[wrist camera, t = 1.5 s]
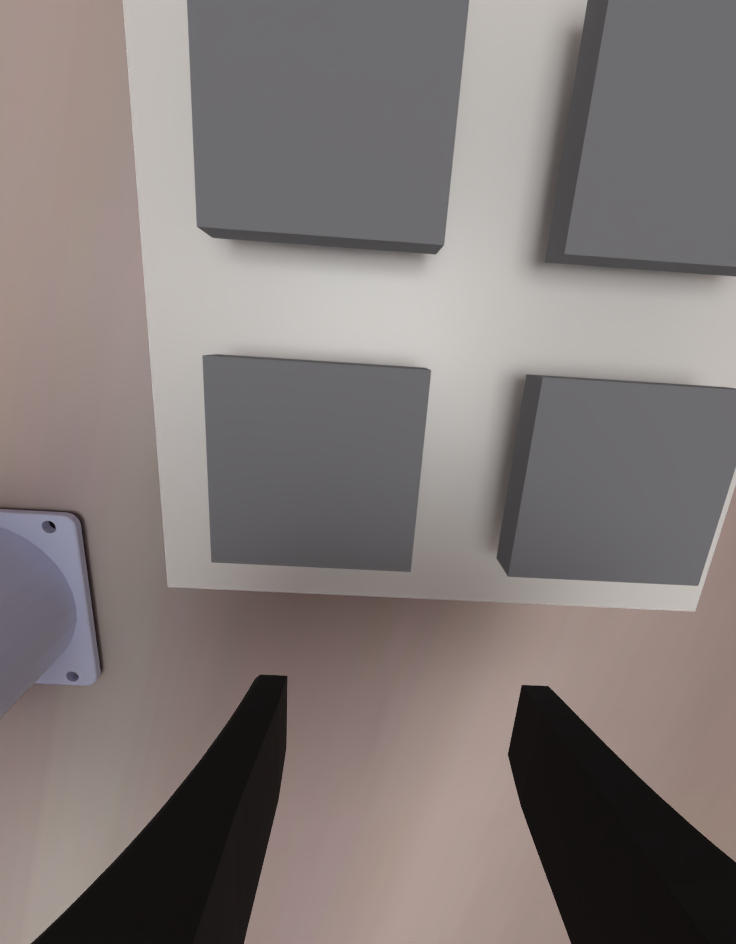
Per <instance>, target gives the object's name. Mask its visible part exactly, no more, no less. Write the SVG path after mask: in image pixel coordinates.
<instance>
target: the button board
mask: <svg viewBox="0 0 736 944" xmlns="http://www.w3.org/2000/svg"><path fill="white" fill-rule="evenodd" d="M587 1H588V0H469V8H468V17H467V27H466V37H465V47H464V56H463V66H462V76H461V86H460V95H459V105H458V115H457V125H456V134H455V144H454V154H453V164H452V173H451V183H450V193H449V203H448V212H447V222H446V232H445V242H444V246H443V247H442V248H441V249H440V250H439V252H438V253H437V254H423V253H410V252H396V251H382V250H369V249H355V248H342V247H328V246H315V245H301V244H287V243H274V242H260V241H247V240H233V239H220V238H212V237H211V236H209V235H208V234H206V233H205V232H204V231H202V230H201V229H199V228H198V227H197V220H196V197H195V174H194V151H193V128H192V105H191V82H190V58H189V35H188V12H187V0H123V10H124V24H125V37H126V50H127V63H128V76H129V89H130V102H131V115H132V128H133V141H134V154H135V167H136V180H137V194H138V207H139V220H140V233H141V246H142V259H143V272H144V285H145V298H146V311H147V324H148V337H149V351H150V364H151V377H152V390H153V403H154V416H155V429H156V442H157V455H158V468H159V481H160V494H161V508H162V521H163V534H164V547H165V560H166V573H167V586H168V587H177V588H198V589H220V590H242V591H263V592H285V593H307V594H328V595H350V596H371V597H393V598H415V599H436V600H458V601H480V602H501V603H523V604H544V605H566V606H588V607H609V608H631V609H653V610H674V611H695V610H696V607H697V604H698V601H699V598H700V594H701V591H702V588H703V585H704V582H705V579H706V576H707V573H708V569H709V566H710V563H711V560H712V557H713V554H714V551H715V548H716V544H717V541H718V538H719V535H720V532H721V529H722V526H723V523H724V519H725V516H726V513H727V510H728V507H729V504H730V501H731V498H732V495H733V491H734V488H735V485H736V468H735V471H734V475H733V478H732V481H731V484H730V487H729V490H728V494H727V497H726V500H725V503H724V506H723V509H722V512H721V516H720V519H719V522H718V525H717V528H716V531H715V535H714V538H713V541H712V544H711V547H710V550H709V554H708V557H707V560H706V563H705V566H704V569H703V573H702V576H701V579H700V582H699V585H698V586H689V585H668V584H648V583H627V582H606V581H586V580H565V579H544V578H524V577H508V576H507V574H506V573H505V571H504V570H503V568H502V566H501V565H500V563H499V562H498V560H497V558H496V557H497V551H498V545H499V539H500V532H501V526H502V520H503V514H504V508H505V502H506V496H507V490H508V484H509V477H510V471H511V465H512V459H513V453H514V447H515V441H516V435H517V429H518V422H519V416H520V410H521V404H522V398H523V392H524V386H525V380H526V374H532V375H547V376H562V377H578V378H593V379H609V380H624V381H640V382H655V383H671V384H686V385H702V386H717V387H729V388H736V277H735V276H722V275H708V274H694V273H681V272H667V271H654V270H640V269H627V268H613V267H599V266H586V265H572V264H559V263H545V257H546V251H547V245H548V239H549V233H550V227H551V221H552V215H553V208H554V202H555V196H556V190H557V184H558V178H559V172H560V166H561V160H562V153H563V147H564V141H565V135H566V129H567V123H568V117H569V111H570V105H571V98H572V92H573V86H574V80H575V74H576V68H577V62H578V56H579V50H580V43H581V37H582V31H583V25H584V19H585V13H586V7H587ZM213 354H222V355H238V356H253V357H269V358H284V359H300V360H315V361H330V362H346V363H361V364H377V365H392V366H408V367H423V368H427V369H430V370H431V378H430V388H429V398H428V408H427V417H426V427H425V437H424V447H423V456H422V466H421V476H420V486H419V495H418V505H417V515H416V525H415V534H414V544H413V554H412V564H411V572H399V571H379V570H358V569H337V568H317V567H296V566H275V565H255V564H234V563H213V562H211V544H210V521H209V498H208V475H207V451H206V428H205V405H204V382H203V359H202V355H213Z"/></svg>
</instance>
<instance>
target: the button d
mask: <svg viewBox="0 0 736 944" xmlns="http://www.w3.org/2000/svg"><path fill="white" fill-rule="evenodd" d="M545 263H559V264H572V265H586V266H599V267H613V268H627V269H640V270H654V271H667V272H681V273H694V274H708V275H722V276H735V277H736V0H588V1H587V7H586V13H585V19H584V25H583V31H582V37H581V43H580V50H579V56H578V62H577V68H576V74H575V80H574V86H573V92H572V98H571V105H570V111H569V117H568V123H567V129H566V135H565V141H564V147H563V153H562V160H561V166H560V172H559V178H558V184H557V190H556V196H555V202H554V208H553V215H552V221H551V227H550V233H549V239H548V245H547V251H546V257H545Z"/></svg>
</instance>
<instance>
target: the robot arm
mask: <svg viewBox="0 0 736 944" xmlns="http://www.w3.org/2000/svg"><path fill="white" fill-rule="evenodd" d="M49 521H51V522H53V523H54V524H55V526H56V529H54V528H52V527H51V526H50V524H49ZM74 672H75V673H77V674H78V675H77V674H75V673H74ZM100 673H101V671H100V663H99V656H98V648H97V641H96V633H95V626H94V619H93V611H92V604H91V596H90V589H89V581H88V574H87V567H86V559H85V552H84V544H83V537H82V529H81V524H80V521H79V519H78V518H77V517H76V516H75V515H73V514H71V513H67V512H50V511H31V510H11V509H0V719H1V717H2V716H3V715H4V714H5V713H6V712H7V711H8V710H9V709H10V708H11V707H12V706H13V705H14V704H15V703H16V702H17V701H18V700H19V699H20V698H21V697H22V695H23V694H24V693H25V692H26V691H27V690H28V689H29V688H30V687H31V686H32V685H33V684H58V685H84V686H87V685H92V684H94V683H95V681H96V680H97V679H98V678H99V676H100ZM286 732H287V676H278V675H259V676H258V677H257V678H256V679H255V680H254V682H253V683H252V685H251V687H250V689H249V690H248V692H247V693H246V695H245V697H244V698H243V700H242V702H241V703H240V705H239V706H238V708H237V709H236V711H235V712H234V714H233V715H232V717H231V718H230V720H229V721H228V723H227V724H226V725H225V727H224V728H223V730H222V731H221V732H220V734H219V735H218V737H217V738H216V739H215V741H214V742H213V743H212V745H211V746H210V748H209V749H208V750H207V752H206V753H205V754H204V756H203V757H202V759H201V760H200V761H199V762H198V764H197V765H196V766H195V768H194V769H193V770H192V771H191V773H190V774H189V775H188V776H187V778H186V779H185V780H184V781H183V783H182V784H181V785H180V786H179V788H178V789H177V790H176V791H175V793H174V794H173V795H172V796H171V798H170V799H169V800H168V801H167V802H166V804H165V805H164V806H163V807H162V808H161V810H160V811H159V812H158V813H157V814H156V815H155V817H154V818H153V819H152V820H151V821H150V822H149V823H148V825H147V826H146V827H145V828H144V829H143V830H142V831H141V833H140V834H139V835H138V836H137V837H136V838H135V839H134V840H133V841H132V842H131V843H130V845H129V846H128V847H127V848H126V849H125V850H124V851H123V852H122V853H121V854H120V856H119V857H118V858H117V859H116V860H115V861H114V862H113V863H112V864H111V865H110V866H109V867H108V868H107V869H106V870H105V871H104V872H103V873H102V874H101V875H100V876H99V877H98V878H97V879H96V880H95V881H94V882H93V884H92V885H91V886H90V887H89V888H88V889H87V890H86V891H85V892H84V893H83V894H82V895H81V896H80V897H79V898H78V899H77V900H76V901H75V902H74V903H73V904H72V905H71V906H70V907H69V908H68V909H67V910H66V911H65V912H64V913H63V914H62V915H61V916H60V917H59V918H58V919H57V920H56V921H55V922H54V923H52V924H51V925H50V926H49V927H48V928H47V929H46V930H45V931H44V932H43V933H42V934H41V935H40V936H39V937H38V938H37V939H35V940H34V941H33V942H32V943H31V944H244V941H245V936H246V931H247V927H248V923H249V919H250V915H251V911H252V907H253V903H254V899H255V894H256V890H257V886H258V882H259V878H260V874H261V870H262V866H263V861H264V857H265V853H266V849H267V845H268V841H269V837H270V833H271V828H272V824H273V820H274V816H275V812H276V807H277V803H278V799H279V792H280V786H281V779H282V773H283V766H284V759H285V752H286ZM508 756H509V761H510V765H511V769H512V773H513V777H514V781H515V785H516V789H517V793H518V796H519V800H520V804H521V807H522V810H523V813H524V816H525V819H526V822H527V824H528V827H529V830H530V833H531V835H532V838H533V841H534V844H535V846H536V849H537V852H538V855H539V857H540V860H541V863H542V865H543V868H544V871H545V873H546V876H547V879H548V882H549V884H550V887H551V890H552V892H553V895H554V898H555V901H556V903H557V906H558V909H559V911H560V914H561V917H562V920H563V922H564V925H565V928H566V930H567V933H568V936H569V939H570V941H571V944H736V862H735V861H733V860H732V859H731V858H730V857H729V856H727V855H726V854H725V853H724V852H722V851H721V850H720V849H719V848H718V847H716V846H715V845H714V844H713V843H712V842H710V841H709V840H708V839H707V838H706V837H705V836H703V835H702V834H701V833H700V832H699V831H698V830H696V829H695V828H694V827H693V826H692V825H691V824H690V823H689V822H687V821H686V820H685V819H684V818H683V817H682V816H681V815H680V814H679V813H677V812H676V811H675V810H674V809H673V808H672V807H671V806H670V805H669V804H667V803H666V802H665V801H664V800H663V799H662V798H661V797H660V796H659V795H658V794H656V793H655V792H654V791H653V790H652V789H651V788H650V787H649V786H648V785H647V784H646V783H645V782H644V781H643V780H642V779H641V778H639V777H638V776H637V775H636V774H635V773H634V772H633V771H632V770H631V769H630V768H629V767H628V766H627V765H626V764H625V763H624V762H623V761H622V760H621V759H620V758H619V757H618V756H617V755H616V754H615V753H614V752H613V751H612V750H611V749H610V748H609V747H608V746H607V745H606V744H605V743H604V742H603V741H602V740H601V739H600V738H599V737H598V736H597V735H596V734H595V733H594V732H593V731H592V730H591V729H590V728H589V727H588V726H587V725H586V724H585V723H584V722H583V721H582V720H581V719H580V718H579V717H578V716H577V715H576V714H575V713H574V712H573V711H572V710H571V709H570V708H569V707H568V706H567V705H566V704H565V703H564V702H563V700H562V699H561V698H560V697H559V696H558V695H557V694H556V693H555V692H554V691H553V690H551V689H550V688H549V687H548V686H529V685H522V687H521V692H520V697H519V702H518V707H517V712H516V717H515V722H514V727H513V732H512V737H511V742H510V747H509V752H508Z"/></svg>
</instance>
